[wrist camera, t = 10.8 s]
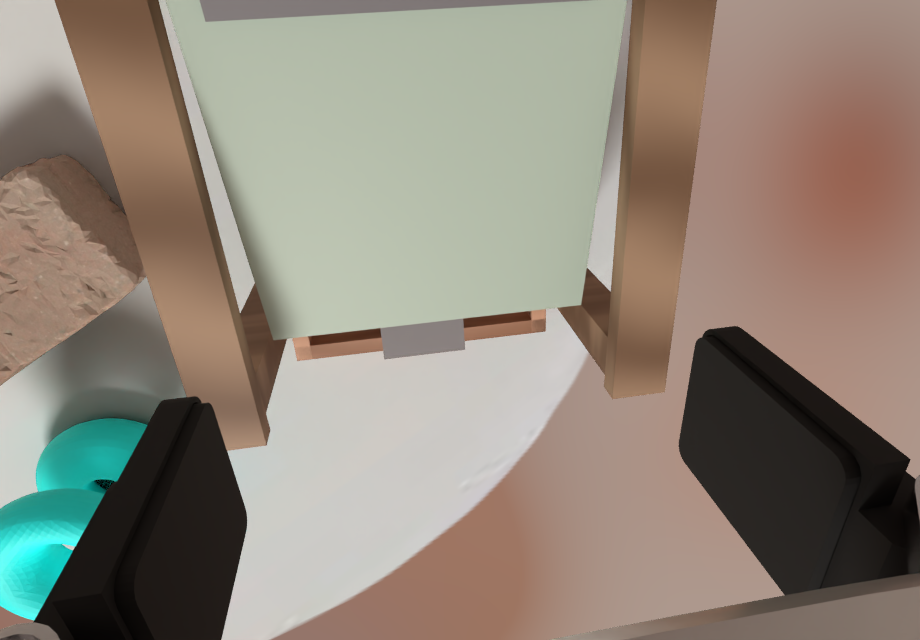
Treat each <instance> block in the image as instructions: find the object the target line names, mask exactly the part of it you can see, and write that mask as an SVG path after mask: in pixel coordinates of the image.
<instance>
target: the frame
mask: <svg viewBox="0 0 920 640" xmlns="http://www.w3.org/2000/svg"><path fill="white" fill-rule="evenodd" d="M716 2H717V0H632V14H631V27H630V41H629V55H628V68H627V82H626V95H625V109H624V122H623V136H622V150H621V163H620V177H619V190H618V204H617V217H616V231H615V245H614V258H613V272H612V285H611V292H610V291H609V290H608V289H607V288H606V287H605V286H604V285H603V284H602V283H601V282H600V281H599V280H598V279H597V278H596V277H595V275H594V274H593V273H592V272H591V271H590V270H589V269H588V268H587V269H586V276H585V282H584V289H583V296H582V302H581V305H577V306H568V307H560V308H558V310H559V311H560V312H561V314H562V315H563V317H564V318H565V319H566V321H567V322H568V324H569V325H570V326H571V328H572V329H573V331H574V332H575V333H576V335H577V336H578V338H579V339H580V340H581V342H582V343H583V345H584V346H585V348H586V349H587V350H588V352H589V353H590V355H591V356H592V357H593V359H594V360H595V362H596V363H597V364H598V366H599V367H600V369H601V370H602V371H603V373H604V374H605V380H604V387H605V389H606V390H607V392H608V393H609V395H610V396H611V397H612V399H617V398H624V397H632V396H639V395H646V394H654V393H661V392H665V385H666V378H667V370H668V363H669V355H670V348H671V340H672V333H673V324H674V318H675V310H676V303H677V295H678V288H679V280H680V273H681V265H682V258H683V250H684V242H685V235H686V228H687V220H688V213H689V205H690V197H691V189H692V183H693V175H694V168H695V160H696V152H697V145H698V138H699V129H700V122H701V115H702V107H703V100H704V92H705V85H706V77H707V70H708V62H709V55H710V47H711V40H712V32H713V25H714V17H715V9H716ZM55 3H56V6H57V9H58V12H59V15H60V18H61V21H62V24H63V27H64V30H65V33H66V36H67V39H68V42H69V45H70V48H71V51H72V54H73V57H74V60H75V63H76V66H77V69H78V72H79V75H80V78H81V81H82V84H83V87H84V90H85V93H86V96H87V99H88V102H89V105H90V108H91V111H92V114H93V117H94V120H95V123H96V126H97V129H98V132H99V135H100V138H101V141H102V144H103V147H104V150H105V153H106V156H107V159H108V162H109V165H110V168H111V171H112V174H113V177H114V180H115V183H116V186H117V189H118V192H119V195H120V198H121V201H122V204H123V207H124V210H125V213H126V216H127V219H128V222H129V225H130V228H131V231H132V234H133V237H134V240H135V243H136V246H137V249H138V252H139V255H140V258H141V261H142V264H143V267H144V270H145V273H146V276H147V279H148V282H149V285H150V288H151V291H152V294H153V297H154V300H155V303H156V306H157V309H158V312H159V315H160V318H161V321H162V324H163V327H164V330H165V333H166V336H167V339H168V342H169V345H170V348H171V351H172V354H173V357H174V360H175V363H176V366H177V369H178V372H179V375H180V378H181V381H182V384H183V387H184V390H185V393H186V396H187V397H192V396H197V397H198V398H199V399H200V400H201V402H202V403H210V404H211V405H212V407H213V409H214V412H215V415H216V418H217V421H218V425H219V428H220V431H221V434H222V437H223V440H224V443H225V446H226V450H227V451H228V450H235V449H243V448H250V447H258V446H265V445H267V441H268V437H269V433H270V427H269V424H268V420H267V416H266V411H267V407H268V404H269V400H270V397H271V393H272V390H273V386H274V382H275V379H276V375H277V372H278V368H279V365H280V361H281V358H282V354H283V351H284V347H285V344H286V340H287V339H281V340H273V337H272V334H271V331H270V328H269V325H268V322H267V318H266V315H265V312H264V309H263V306H262V303H261V299H260V296H259V293H258V290H257V287H256V284H254V286H253V288H252V290H251V293H250V295H249V297H248V299H247V301H246V303H245V305H244V307H243V309H242V311H241V313H240V312H239V308H238V305H237V301H236V297H235V293H234V289H233V285H232V282H231V278H230V274H229V270H228V266H227V262H226V259H225V255H224V251H223V247H222V243H221V239H220V236H219V232H218V228H217V224H216V220H215V216H214V213H213V209H212V205H211V201H210V197H209V193H208V190H207V186H206V182H205V178H204V174H203V170H202V167H201V163H200V159H199V155H198V151H197V147H196V144H195V140H194V136H193V132H192V128H191V124H190V120H189V117H188V113H187V109H186V105H185V101H184V97H183V94H182V90H181V86H180V82H179V78H178V74H177V71H176V67H175V63H174V59H173V55H172V51H171V48H170V44H169V40H168V36H167V32H166V28H165V25H164V21H163V17H162V13H161V9H160V5H159V2H158V0H55ZM463 323H464V340H465V341H468V340H477V339H485V338H494V337H502V336H510V335H519V334H527V333H536V332H544V331H546V309H542V310H533V311H525V312H516V313H507V314H498V315H490V316H481V317H472V318H464V319H463ZM293 343H294V347H295V352H296V356H297V361H300V360H309V359H317V358H326V357H334V356H342V355H351V354H359V353H368V352H376V351H383V345H382V337H381V330H380V328H376V329H368V330H359V331H350V332H342V333H333V334H324V335H315V336H307V337H298V338H293Z"/></svg>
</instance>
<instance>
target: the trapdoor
mask: <svg viewBox="0 0 920 640" xmlns="http://www.w3.org/2000/svg"><path fill="white" fill-rule="evenodd" d="M166 3H167V6H168V9H169V13H170V16H171V19H172V22H173V25H174V28H175V32H176V35H177V38H178V41H179V44H180V47H181V50H182V54H183V57H184V60H185V63H186V66H187V69H188V73H189V76H190V79H191V82H192V85H193V88H194V91H195V95H196V98H197V101H198V104H199V107H200V110H201V114H202V117H203V120H204V123H205V126H206V129H207V132H208V136H209V139H210V142H211V145H212V148H213V151H214V154H215V158H216V161H217V164H218V167H219V170H220V173H221V177H222V180H223V183H224V186H225V189H226V192H227V195H228V199H229V202H230V205H231V208H232V211H233V214H234V218H235V221H236V224H237V227H238V230H239V233H240V236H241V240H242V243H243V246H244V249H245V252H246V255H247V259H248V262H249V265H250V268H251V271H252V274H253V277H254V281H255V284H256V287H257V290H258V293H259V296H260V299H261V303H262V306H263V309H264V312H265V315H266V318H267V322H268V325H269V328H270V331H271V334H272V337H273V340H281V339H289V338H298V337H307V336H315V335H324V334H333V333H342V332H350V331H359V330H368V329H376V328H385V327H394V326H403V325H411V324H420V323H429V322H437V321H446V320H455V319H464V318H472V317H481V316H490V315H498V314H507V313H516V312H525V311H533V310H542V309H551V308H560V307H568V306H577V305H581V302H582V296H583V289H584V282H585V276H586V269H587V263H588V256H589V249H590V243H591V236H592V229H593V223H594V216H595V210H596V203H597V196H598V190H599V183H600V177H601V170H602V163H603V157H604V150H605V144H606V137H607V130H608V124H609V117H610V110H611V104H612V97H613V91H614V84H615V77H616V71H617V64H618V58H619V51H620V44H621V38H622V31H623V25H624V18H625V11H626V5H627V0H166Z"/></svg>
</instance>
